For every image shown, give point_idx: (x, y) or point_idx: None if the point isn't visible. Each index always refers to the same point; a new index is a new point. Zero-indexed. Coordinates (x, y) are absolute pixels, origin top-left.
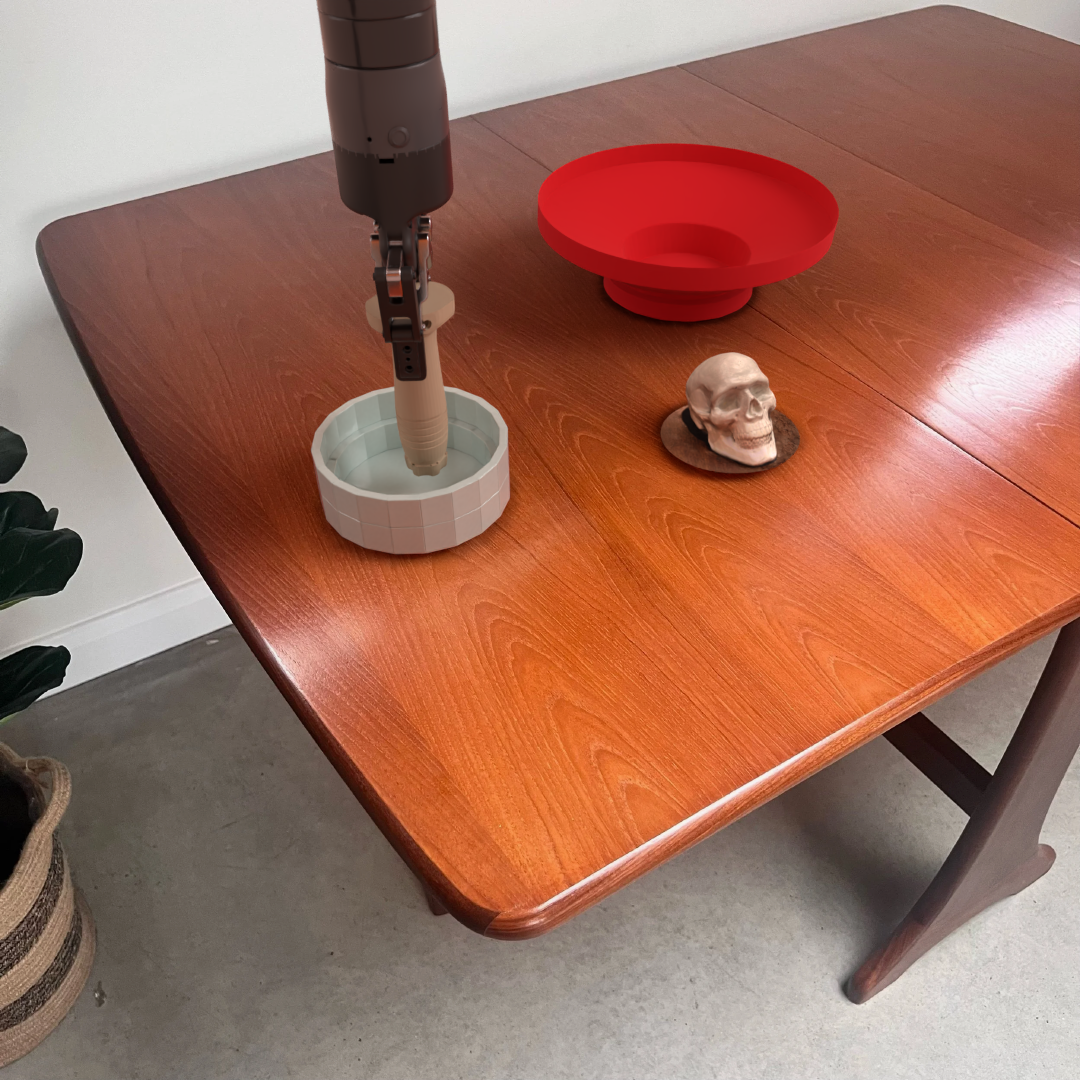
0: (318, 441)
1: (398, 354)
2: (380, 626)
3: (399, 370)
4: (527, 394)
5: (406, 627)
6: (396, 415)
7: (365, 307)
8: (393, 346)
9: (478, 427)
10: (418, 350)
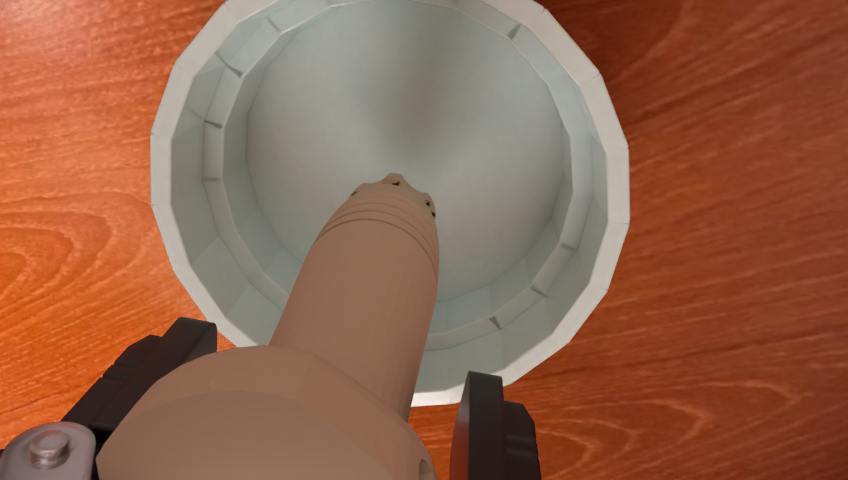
0: None
1: (84, 398)
2: (49, 52)
3: (124, 353)
4: (682, 407)
5: (49, 99)
6: (358, 217)
7: (229, 391)
8: (118, 395)
9: (494, 332)
10: None
